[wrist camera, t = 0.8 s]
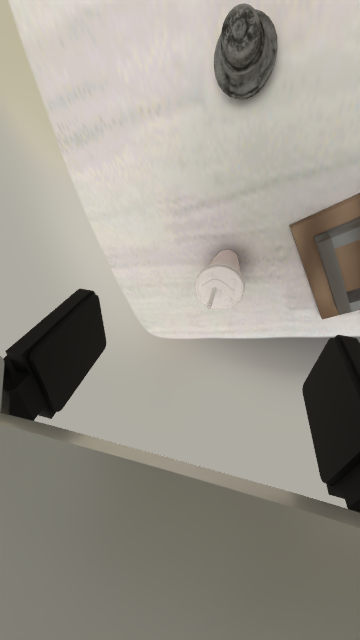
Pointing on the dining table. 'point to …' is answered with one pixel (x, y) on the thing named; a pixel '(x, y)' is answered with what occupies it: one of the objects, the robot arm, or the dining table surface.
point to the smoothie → (221, 281)
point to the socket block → (332, 256)
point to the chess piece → (245, 52)
